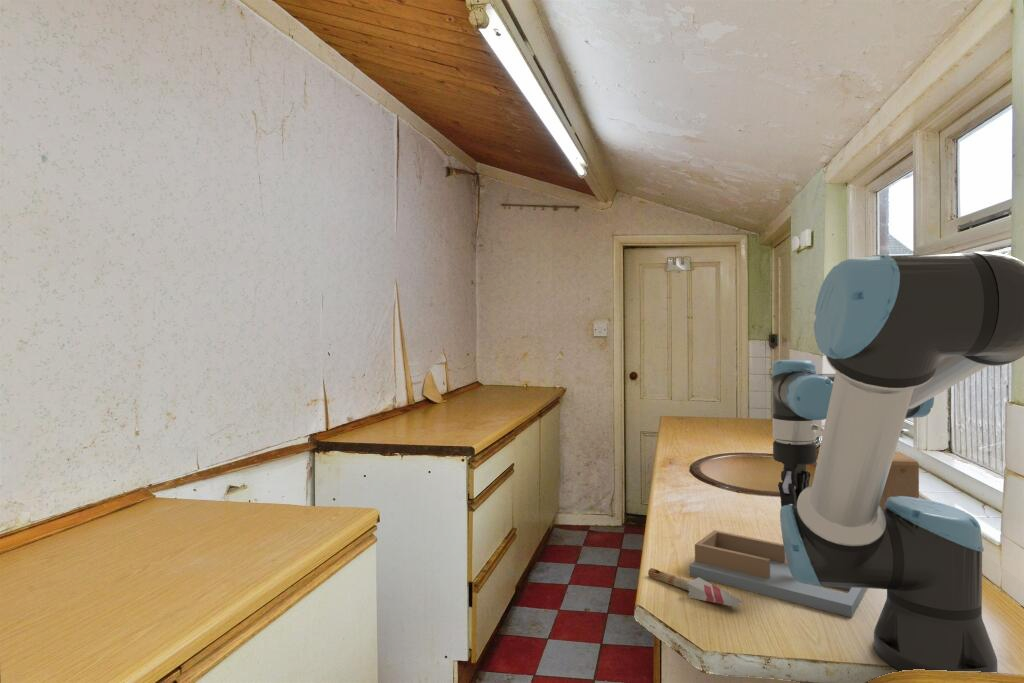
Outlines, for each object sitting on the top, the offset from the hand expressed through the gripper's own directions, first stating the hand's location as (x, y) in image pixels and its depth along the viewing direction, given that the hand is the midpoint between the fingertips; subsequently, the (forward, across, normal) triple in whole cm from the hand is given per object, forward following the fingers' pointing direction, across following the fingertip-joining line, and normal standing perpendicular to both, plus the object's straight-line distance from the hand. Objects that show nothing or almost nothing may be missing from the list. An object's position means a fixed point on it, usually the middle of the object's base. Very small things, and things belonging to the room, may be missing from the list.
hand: (795, 563), depth 116 cm
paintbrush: (+5, -14, +15) cm, 21 cm away
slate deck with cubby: (+4, +3, +5) cm, 7 cm away
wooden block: (+4, +36, -10) cm, 37 cm away
